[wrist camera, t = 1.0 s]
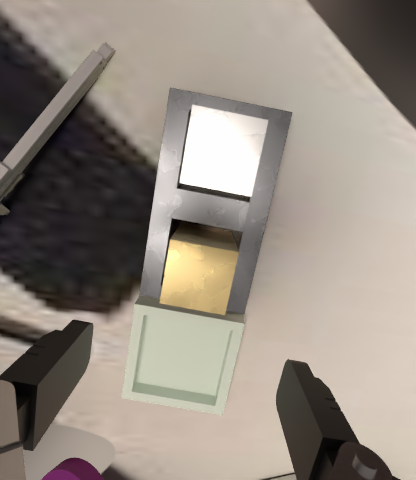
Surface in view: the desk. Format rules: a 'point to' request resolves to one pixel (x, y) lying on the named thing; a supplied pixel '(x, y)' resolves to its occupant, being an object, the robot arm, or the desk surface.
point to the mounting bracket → (73, 471)
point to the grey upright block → (222, 150)
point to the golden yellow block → (199, 268)
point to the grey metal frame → (211, 194)
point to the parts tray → (181, 356)
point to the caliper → (51, 120)
